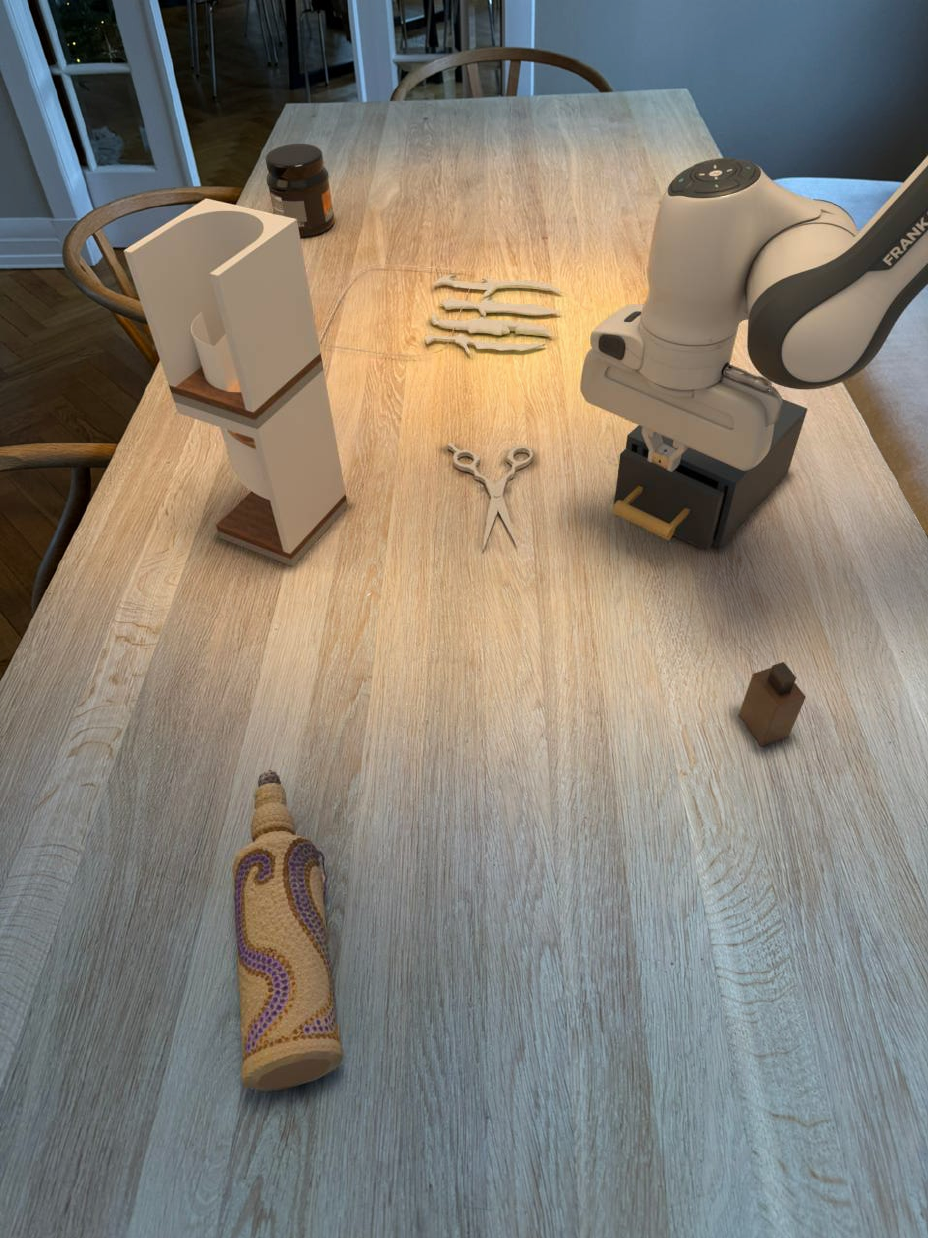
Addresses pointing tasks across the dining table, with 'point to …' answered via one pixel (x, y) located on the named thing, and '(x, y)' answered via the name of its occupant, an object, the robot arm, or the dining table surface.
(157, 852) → the dining table surface
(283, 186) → the supplement container
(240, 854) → the decorative bottle
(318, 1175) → the dining table surface
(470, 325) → the driftwood wall hanging
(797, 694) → the small brown bottle
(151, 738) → the dining table surface
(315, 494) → the slotted cup holder tower
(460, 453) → the scissors
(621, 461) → the drawer
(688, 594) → the dining table surface
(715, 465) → the cabinet
